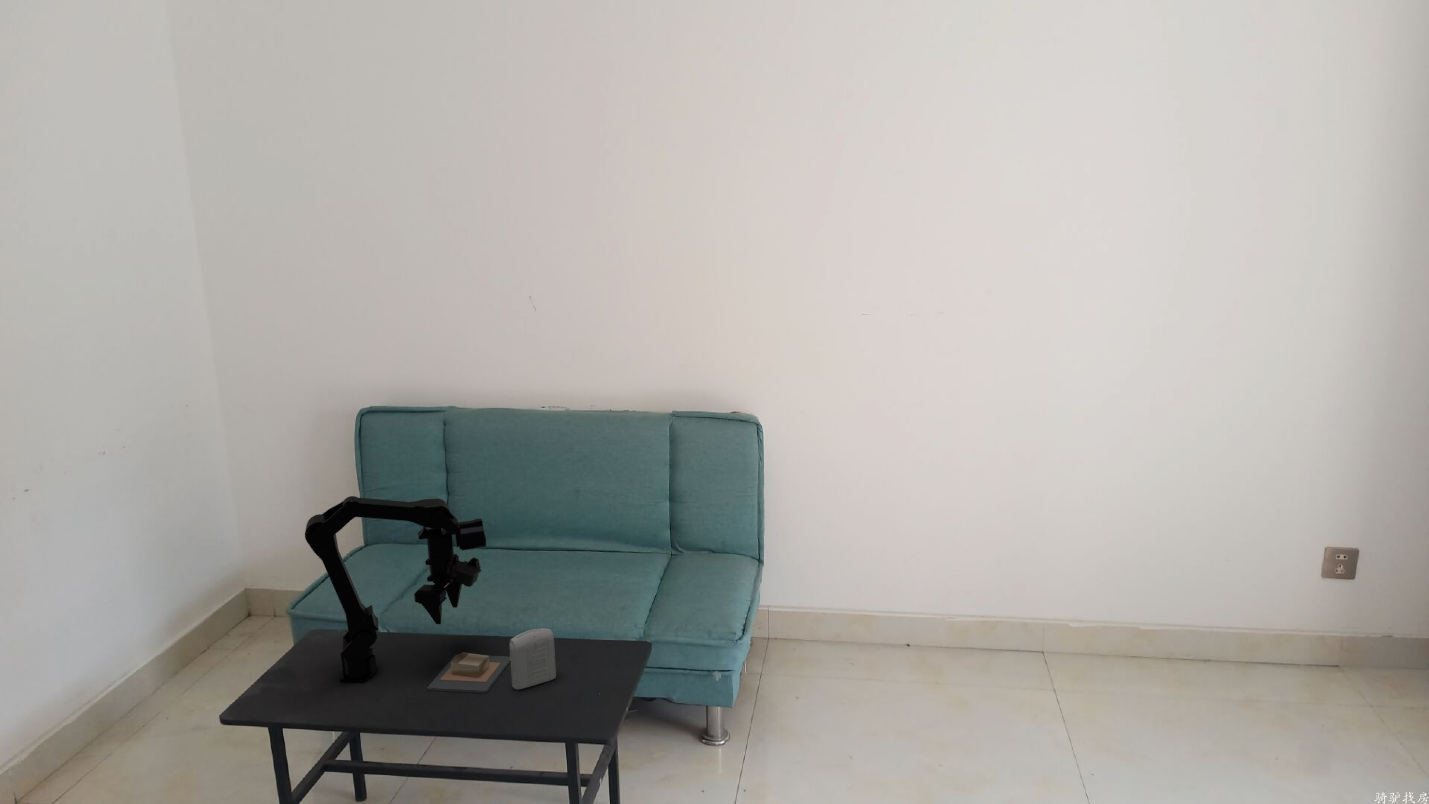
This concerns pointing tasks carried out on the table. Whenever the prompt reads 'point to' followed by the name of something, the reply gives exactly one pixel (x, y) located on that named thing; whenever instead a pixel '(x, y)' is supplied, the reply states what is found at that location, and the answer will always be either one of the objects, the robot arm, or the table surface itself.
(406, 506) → the robot arm
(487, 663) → the tan beveled box
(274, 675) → the table surface
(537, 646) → the grey rounded block
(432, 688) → the rubber mat
